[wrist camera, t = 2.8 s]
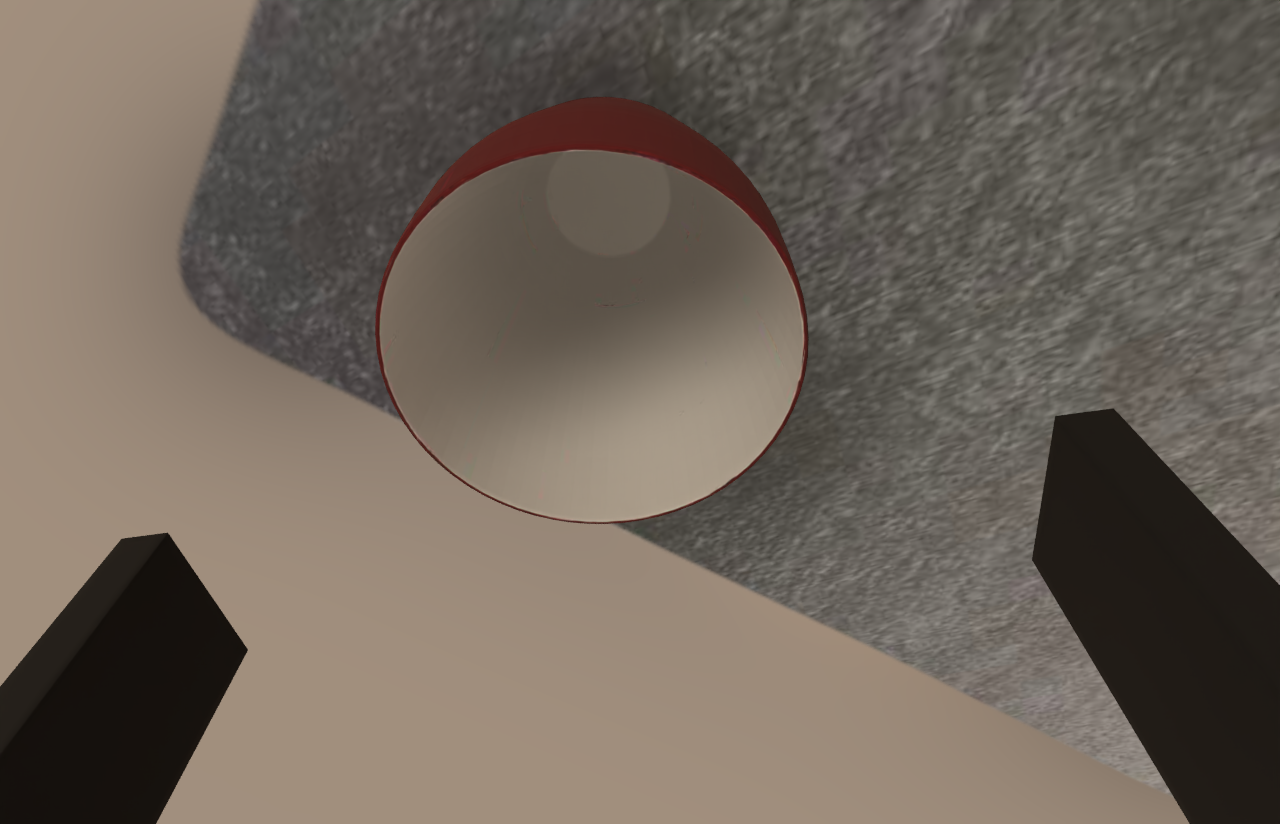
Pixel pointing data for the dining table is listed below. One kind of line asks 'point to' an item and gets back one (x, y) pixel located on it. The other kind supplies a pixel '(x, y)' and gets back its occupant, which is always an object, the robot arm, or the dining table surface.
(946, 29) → the dining table surface
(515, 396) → the mug
